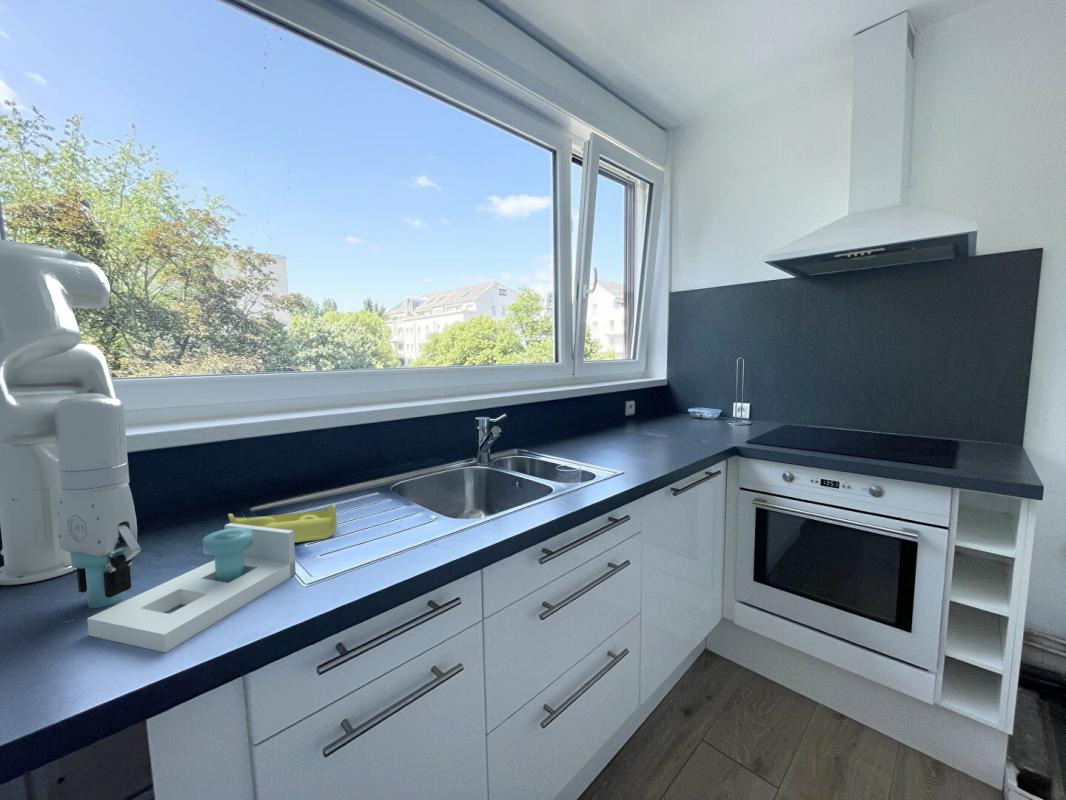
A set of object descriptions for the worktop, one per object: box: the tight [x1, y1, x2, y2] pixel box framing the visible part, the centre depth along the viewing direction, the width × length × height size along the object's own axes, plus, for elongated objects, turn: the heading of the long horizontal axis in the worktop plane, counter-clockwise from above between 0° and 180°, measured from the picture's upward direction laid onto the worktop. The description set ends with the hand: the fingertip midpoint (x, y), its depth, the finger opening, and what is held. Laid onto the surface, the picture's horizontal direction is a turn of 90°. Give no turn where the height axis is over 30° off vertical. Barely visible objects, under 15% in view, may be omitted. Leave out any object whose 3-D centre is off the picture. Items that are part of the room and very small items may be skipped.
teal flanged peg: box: [202, 527, 253, 583], centre depth 74 cm, size 7×7×9 cm
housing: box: [86, 522, 297, 654], centre depth 70 cm, size 14×22×8 cm, turn 166°
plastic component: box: [227, 504, 338, 544], centre depth 95 cm, size 20×7×10 cm
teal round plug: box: [70, 544, 125, 609], centre depth 69 cm, size 7×7×9 cm
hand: (105, 589), depth 70 cm, fingers closed on teal round plug, 4 cm apart
